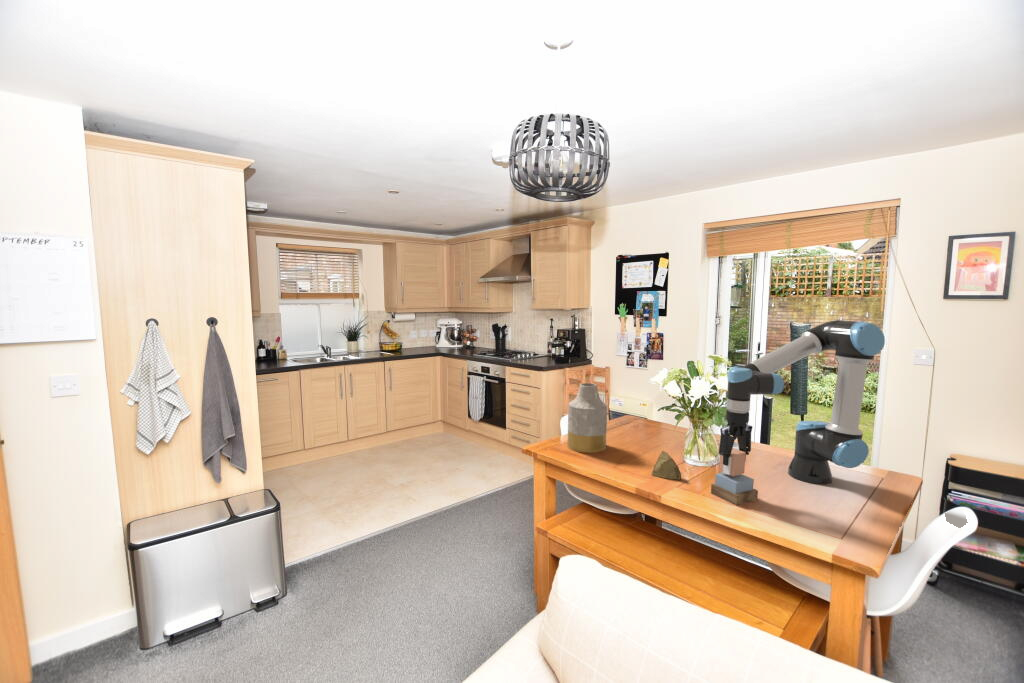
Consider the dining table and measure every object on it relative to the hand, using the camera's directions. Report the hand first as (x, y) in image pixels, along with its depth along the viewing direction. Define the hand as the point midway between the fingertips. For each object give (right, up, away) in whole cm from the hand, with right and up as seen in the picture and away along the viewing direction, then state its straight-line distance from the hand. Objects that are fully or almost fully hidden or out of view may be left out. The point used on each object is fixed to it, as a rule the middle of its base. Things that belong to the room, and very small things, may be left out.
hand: (733, 472), depth 171 cm
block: (0, 0, +1) cm, 1 cm away
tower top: (0, -6, 0) cm, 6 cm away
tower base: (0, -10, 0) cm, 10 cm away
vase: (-45, -3, +54) cm, 71 cm away
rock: (-19, -7, +18) cm, 27 cm away
